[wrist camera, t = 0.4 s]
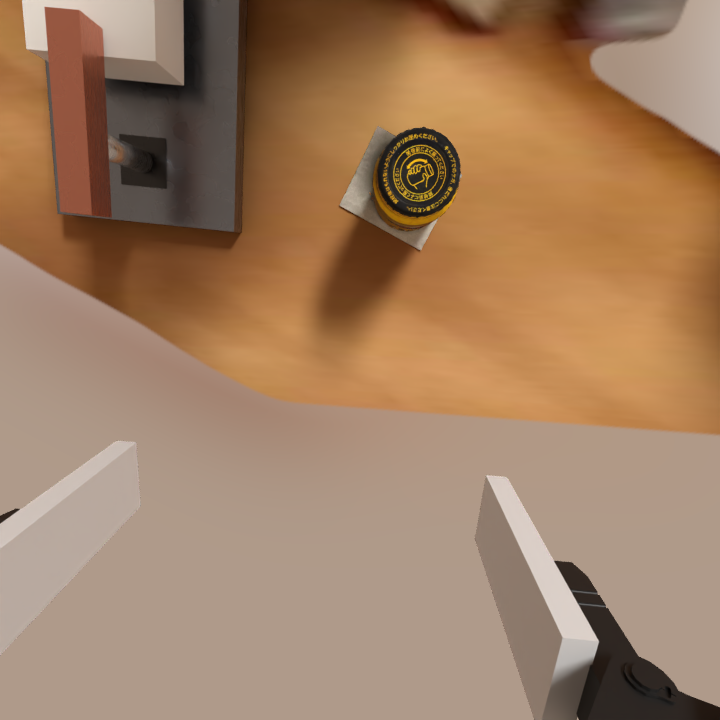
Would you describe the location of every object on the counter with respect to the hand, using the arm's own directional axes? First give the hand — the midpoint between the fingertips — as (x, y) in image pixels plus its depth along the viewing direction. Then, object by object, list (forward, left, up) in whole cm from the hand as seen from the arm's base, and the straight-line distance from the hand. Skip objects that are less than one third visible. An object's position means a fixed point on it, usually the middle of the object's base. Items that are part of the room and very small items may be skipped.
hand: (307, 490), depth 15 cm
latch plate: (-19, -19, -26) cm, 38 cm away
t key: (-14, -19, -24) cm, 34 cm away
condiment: (-14, +3, -26) cm, 30 cm away
